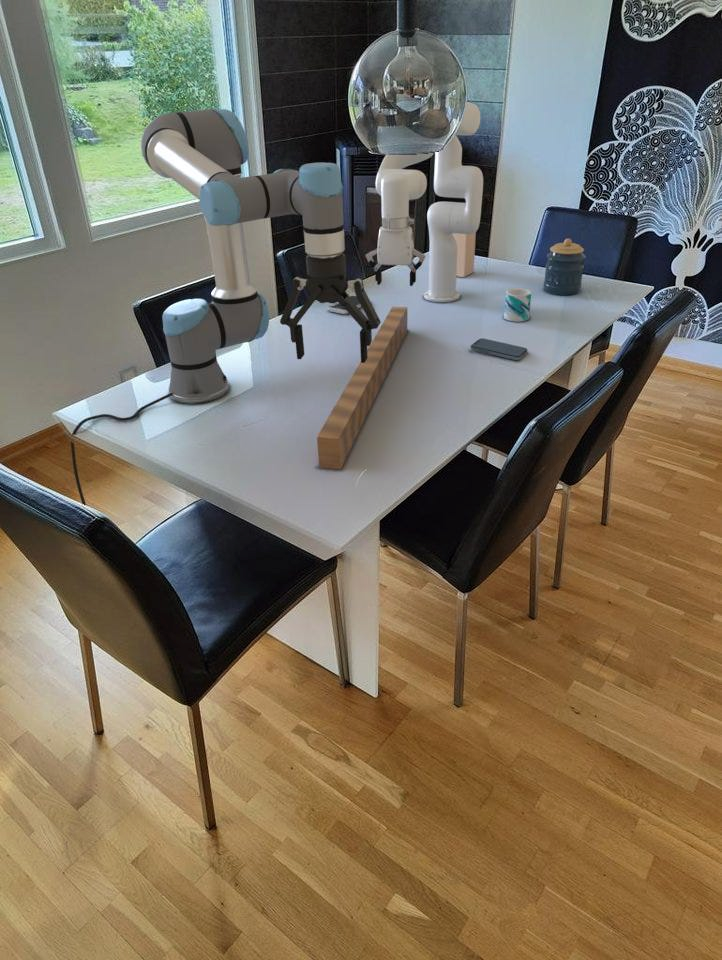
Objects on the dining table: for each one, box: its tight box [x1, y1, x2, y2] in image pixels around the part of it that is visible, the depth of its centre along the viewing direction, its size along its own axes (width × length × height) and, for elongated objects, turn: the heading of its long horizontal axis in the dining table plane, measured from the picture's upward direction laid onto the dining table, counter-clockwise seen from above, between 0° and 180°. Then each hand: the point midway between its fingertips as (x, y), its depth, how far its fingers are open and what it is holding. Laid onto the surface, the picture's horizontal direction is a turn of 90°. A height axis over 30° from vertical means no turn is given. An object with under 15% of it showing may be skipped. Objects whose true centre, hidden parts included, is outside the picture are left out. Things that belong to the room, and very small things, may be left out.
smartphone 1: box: [327, 295, 362, 315], centre depth 231 cm, size 8×1×15 cm
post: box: [316, 306, 408, 470], centre depth 175 cm, size 84×5×8 cm, turn 167°
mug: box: [503, 287, 532, 323], centre depth 216 cm, size 8×12×8 cm
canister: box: [543, 238, 586, 296], centre depth 234 cm, size 13×13×18 cm
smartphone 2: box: [470, 337, 528, 361], centre depth 193 cm, size 8×2×15 cm
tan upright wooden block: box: [452, 231, 477, 278], centre depth 256 cm, size 13×9×22 cm
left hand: (332, 358), depth 138 cm, fingers open, 13 cm apart
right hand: (395, 284), depth 196 cm, fingers open, 9 cm apart
